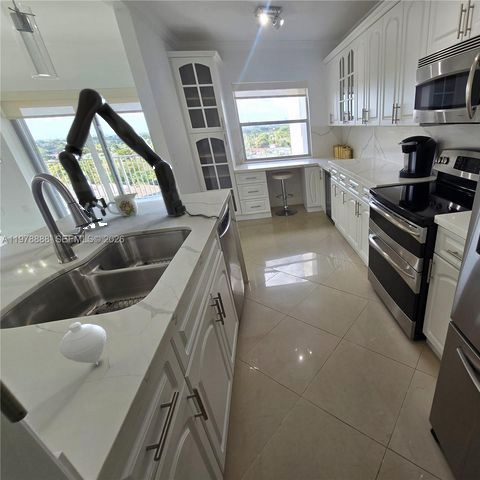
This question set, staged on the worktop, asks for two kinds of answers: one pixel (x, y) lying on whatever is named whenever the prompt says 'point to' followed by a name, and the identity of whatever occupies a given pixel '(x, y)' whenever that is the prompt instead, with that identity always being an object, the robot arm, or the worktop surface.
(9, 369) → the worktop surface
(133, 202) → the pitcher
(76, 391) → the worktop surface
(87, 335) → the spinning top
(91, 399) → the worktop surface
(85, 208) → the lever
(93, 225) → the toaster bracket
